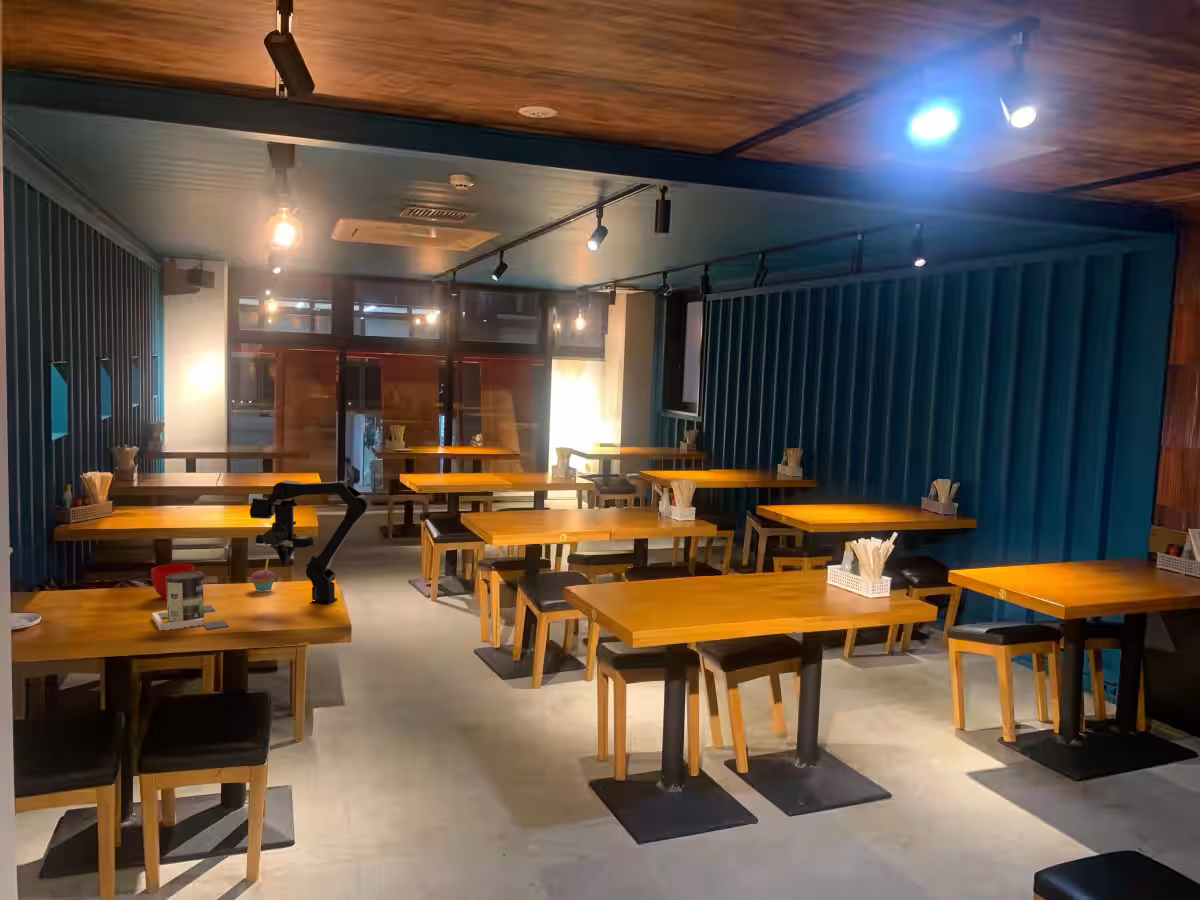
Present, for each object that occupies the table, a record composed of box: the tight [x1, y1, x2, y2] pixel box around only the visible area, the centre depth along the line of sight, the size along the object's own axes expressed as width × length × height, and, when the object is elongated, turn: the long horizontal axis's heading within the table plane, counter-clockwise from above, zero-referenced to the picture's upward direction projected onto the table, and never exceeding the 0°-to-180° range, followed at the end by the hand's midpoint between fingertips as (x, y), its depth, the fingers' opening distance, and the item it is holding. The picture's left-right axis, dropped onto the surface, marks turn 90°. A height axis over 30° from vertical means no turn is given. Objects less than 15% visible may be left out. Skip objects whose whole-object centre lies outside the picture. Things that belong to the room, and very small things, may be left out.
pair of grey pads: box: [202, 604, 230, 631], centre depth 269 cm, size 6×27×1 cm, turn 35°
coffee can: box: [166, 571, 205, 623], centre depth 264 cm, size 10×10×14 cm
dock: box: [151, 610, 204, 631], centre depth 264 cm, size 12×15×2 cm
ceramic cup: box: [150, 563, 205, 600], centre depth 291 cm, size 13×17×10 cm
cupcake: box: [249, 558, 277, 591], centre depth 301 cm, size 9×8×12 cm
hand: (284, 565), depth 287 cm, fingers closed
